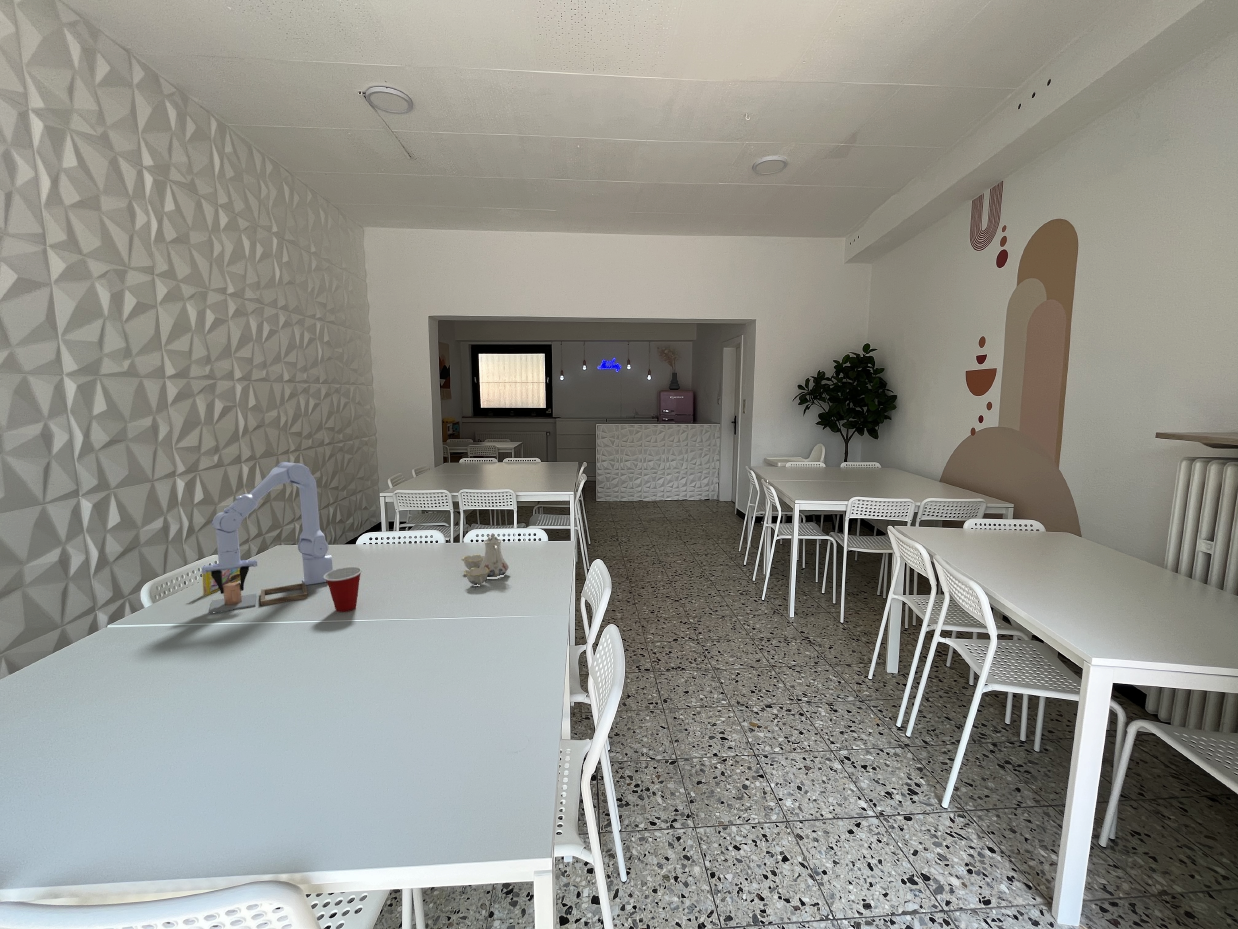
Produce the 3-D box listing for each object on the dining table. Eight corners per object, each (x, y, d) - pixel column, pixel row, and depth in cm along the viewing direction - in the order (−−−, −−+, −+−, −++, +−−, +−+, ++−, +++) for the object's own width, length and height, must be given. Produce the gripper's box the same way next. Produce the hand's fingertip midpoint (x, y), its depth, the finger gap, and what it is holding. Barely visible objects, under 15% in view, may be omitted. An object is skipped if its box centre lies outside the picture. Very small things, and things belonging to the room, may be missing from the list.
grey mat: (256, 595, 189) (256, 593, 189) (255, 606, 179) (255, 604, 178) (212, 602, 182) (212, 600, 182) (208, 614, 172) (208, 612, 172)
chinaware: (458, 573, 216) (452, 531, 214) (501, 563, 223) (495, 523, 220) (470, 596, 191) (463, 549, 188) (518, 584, 197) (511, 539, 195)
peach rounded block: (223, 602, 180) (222, 584, 180) (241, 599, 183) (239, 581, 183) (226, 608, 175) (224, 589, 175) (243, 604, 178) (241, 586, 178)
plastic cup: (318, 611, 174) (315, 574, 172) (349, 600, 183) (346, 564, 182) (341, 618, 169) (338, 579, 167) (371, 606, 178) (369, 569, 177)
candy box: (209, 595, 189) (206, 571, 188) (202, 595, 189) (200, 571, 188) (242, 580, 205) (240, 558, 204) (236, 580, 205) (234, 558, 204)
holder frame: (305, 586, 197) (305, 582, 196) (307, 598, 186) (307, 593, 185) (261, 593, 190) (261, 589, 190) (261, 605, 179) (260, 601, 179)
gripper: (256, 544, 185) (259, 583, 187) (201, 550, 178) (205, 592, 180) (255, 548, 180) (259, 590, 181) (199, 555, 172) (203, 598, 174)
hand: (232, 591), depth 180 cm, fingers closed on peach rounded block, 5 cm apart
